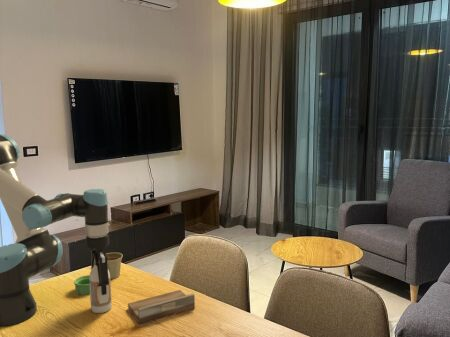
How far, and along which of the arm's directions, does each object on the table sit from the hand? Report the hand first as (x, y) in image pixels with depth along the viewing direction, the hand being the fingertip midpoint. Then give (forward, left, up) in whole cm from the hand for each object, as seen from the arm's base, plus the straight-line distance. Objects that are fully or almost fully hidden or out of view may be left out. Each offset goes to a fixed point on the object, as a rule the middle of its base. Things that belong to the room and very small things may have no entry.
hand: (100, 298), depth 138 cm
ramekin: (-18, -1, -4) cm, 19 cm away
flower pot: (-26, +11, -4) cm, 29 cm away
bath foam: (0, 0, -4) cm, 4 cm away
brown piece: (+11, +18, -4) cm, 21 cm away
